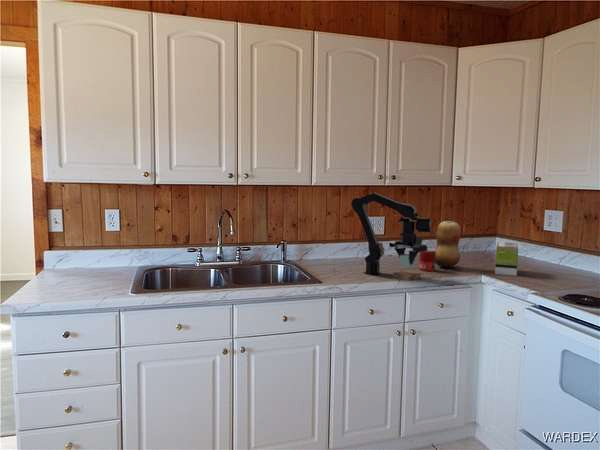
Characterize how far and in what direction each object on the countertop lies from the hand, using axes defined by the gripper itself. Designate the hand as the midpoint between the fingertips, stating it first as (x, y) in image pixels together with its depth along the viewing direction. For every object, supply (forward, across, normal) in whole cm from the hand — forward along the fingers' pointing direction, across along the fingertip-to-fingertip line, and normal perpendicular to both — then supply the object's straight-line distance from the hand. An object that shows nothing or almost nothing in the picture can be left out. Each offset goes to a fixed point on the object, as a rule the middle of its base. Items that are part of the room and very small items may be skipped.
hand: (407, 263), depth 198 cm
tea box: (+7, -21, -52) cm, 57 cm away
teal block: (+1, 0, 0) cm, 1 cm away
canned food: (+7, +5, -22) cm, 24 cm away
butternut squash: (+7, +3, -36) cm, 37 cm away
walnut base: (+7, 0, 0) cm, 7 cm away
